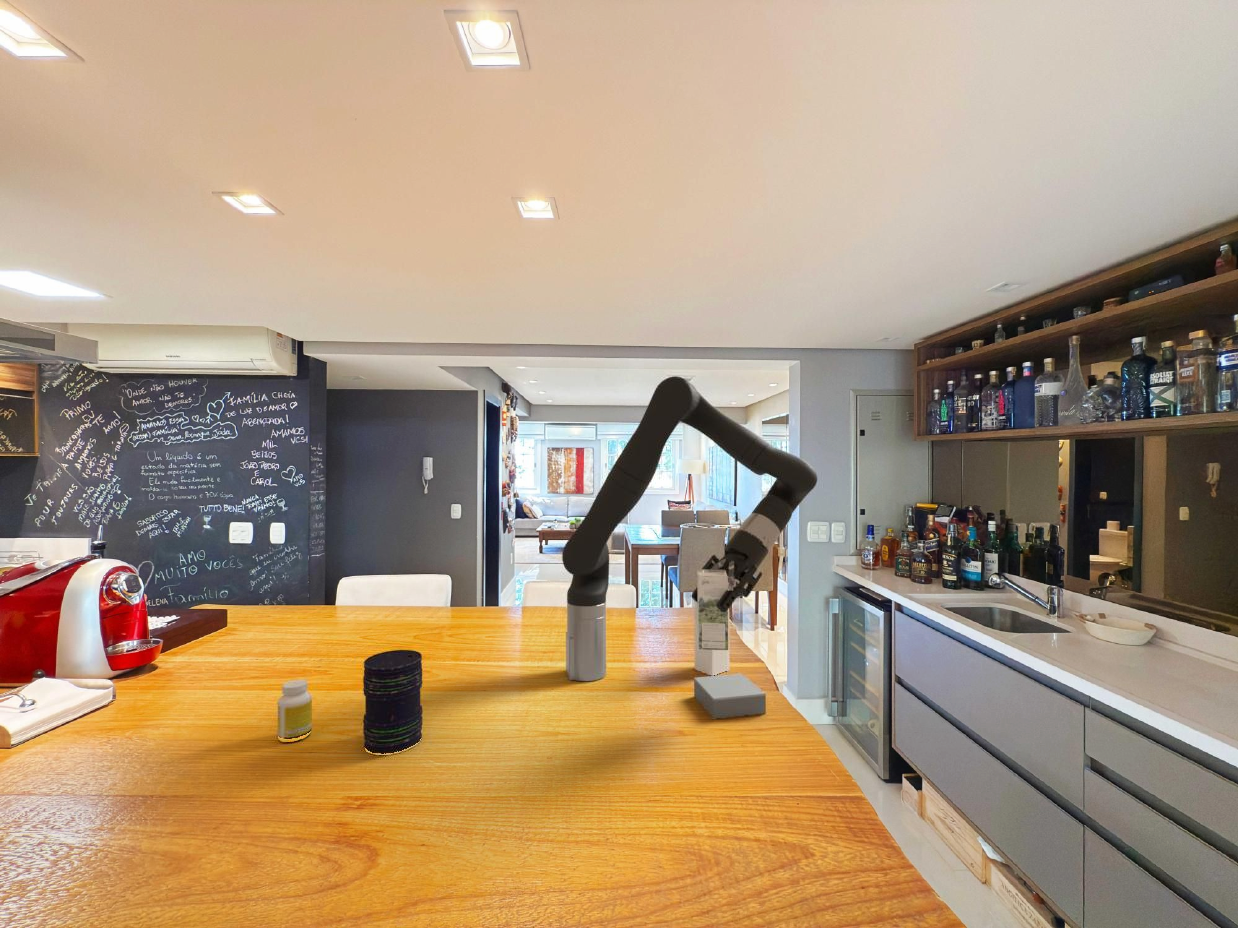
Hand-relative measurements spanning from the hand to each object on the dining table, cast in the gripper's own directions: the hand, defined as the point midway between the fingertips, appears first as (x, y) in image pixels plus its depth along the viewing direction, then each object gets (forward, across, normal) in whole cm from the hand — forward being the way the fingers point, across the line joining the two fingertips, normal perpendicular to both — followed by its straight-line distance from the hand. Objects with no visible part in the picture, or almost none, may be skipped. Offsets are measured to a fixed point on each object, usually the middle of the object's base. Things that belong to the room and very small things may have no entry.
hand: (707, 604), depth 107 cm
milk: (+4, -22, +28) cm, 36 cm away
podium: (+10, -4, +22) cm, 24 cm away
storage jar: (+55, -19, -23) cm, 62 cm away
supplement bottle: (+66, -29, -35) cm, 80 cm away
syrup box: (+5, 0, +7) cm, 9 cm away
